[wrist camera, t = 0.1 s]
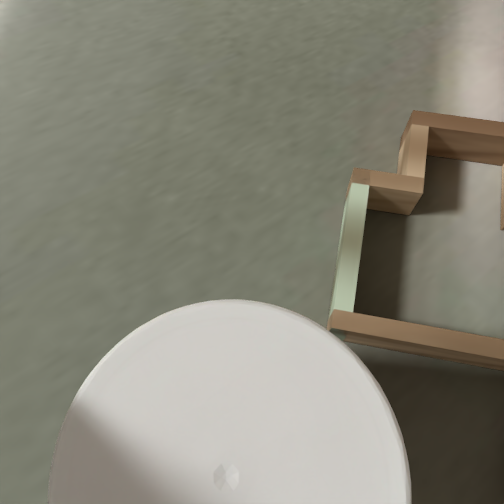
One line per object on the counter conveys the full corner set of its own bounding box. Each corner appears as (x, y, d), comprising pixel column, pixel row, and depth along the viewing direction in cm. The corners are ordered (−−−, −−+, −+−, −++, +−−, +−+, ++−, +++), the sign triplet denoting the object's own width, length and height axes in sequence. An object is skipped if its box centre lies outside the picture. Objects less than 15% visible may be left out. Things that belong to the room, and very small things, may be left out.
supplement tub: (191, 339, 28) (109, 254, 14) (354, 375, 27) (439, 322, 13) (142, 522, 25) (-25, 646, 11) (324, 572, 24) (394, 778, 10)
